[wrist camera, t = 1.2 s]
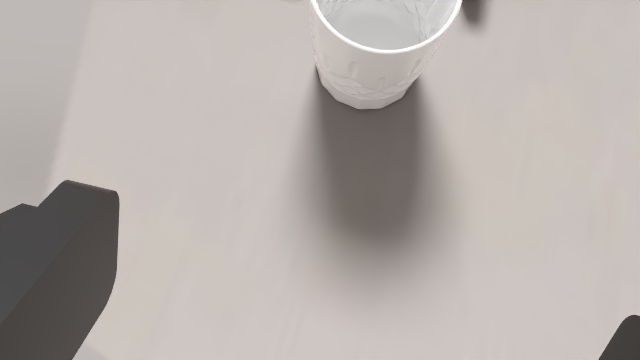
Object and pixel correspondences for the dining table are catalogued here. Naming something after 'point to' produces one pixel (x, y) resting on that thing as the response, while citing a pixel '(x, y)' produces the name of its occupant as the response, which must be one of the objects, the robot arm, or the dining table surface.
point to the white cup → (376, 45)
